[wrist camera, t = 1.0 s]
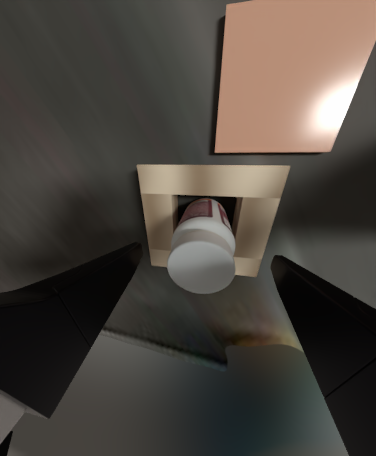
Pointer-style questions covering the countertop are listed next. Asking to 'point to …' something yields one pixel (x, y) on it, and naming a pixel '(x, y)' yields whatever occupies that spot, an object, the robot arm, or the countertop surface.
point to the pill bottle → (202, 249)
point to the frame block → (213, 186)
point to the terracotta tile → (290, 73)
